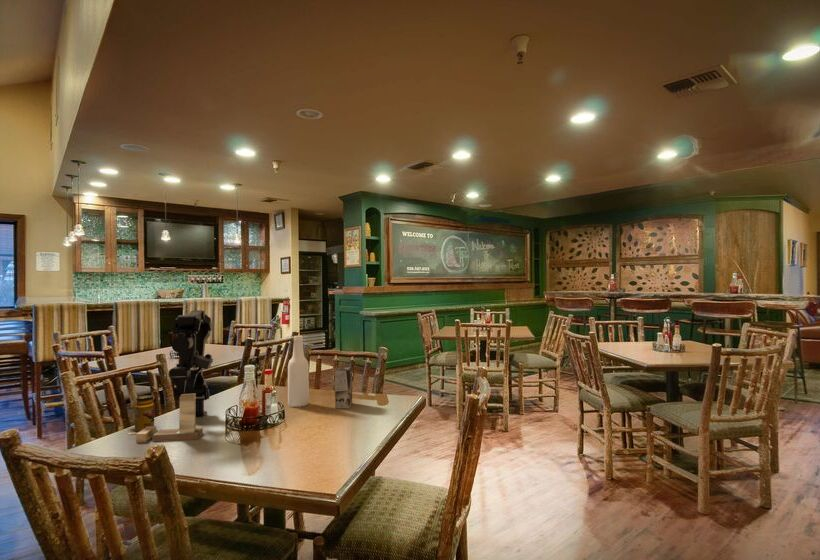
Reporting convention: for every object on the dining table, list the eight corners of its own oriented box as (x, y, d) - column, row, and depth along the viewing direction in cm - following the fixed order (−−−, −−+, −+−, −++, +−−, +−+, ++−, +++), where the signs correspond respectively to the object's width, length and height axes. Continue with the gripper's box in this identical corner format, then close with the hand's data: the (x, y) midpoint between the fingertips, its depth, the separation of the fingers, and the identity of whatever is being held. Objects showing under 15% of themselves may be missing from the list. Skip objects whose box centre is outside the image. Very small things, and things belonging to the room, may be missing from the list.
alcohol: (306, 401, 199) (306, 334, 199) (310, 406, 191) (310, 336, 191) (286, 403, 195) (286, 335, 196) (289, 408, 187) (289, 337, 188)
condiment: (155, 430, 158) (156, 397, 159) (127, 435, 154) (128, 400, 154) (154, 425, 164) (154, 393, 165) (127, 429, 160) (127, 396, 160)
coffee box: (349, 408, 187) (349, 370, 187) (334, 408, 187) (334, 370, 187) (352, 403, 196) (352, 366, 196) (338, 403, 196) (338, 366, 196)
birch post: (181, 429, 153) (181, 394, 153) (195, 427, 155) (195, 393, 155) (179, 433, 149) (179, 397, 149) (194, 431, 151) (194, 396, 151)
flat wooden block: (160, 435, 153) (160, 428, 153) (202, 433, 155) (202, 427, 155) (152, 441, 147) (152, 434, 147) (196, 439, 149) (196, 432, 149)
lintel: (146, 435, 154) (146, 426, 154) (156, 434, 155) (156, 426, 155) (136, 443, 146) (136, 434, 147) (145, 442, 147) (145, 433, 147)
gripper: (201, 352, 154) (201, 397, 154) (217, 345, 173) (217, 385, 173) (168, 353, 153) (167, 398, 153) (187, 346, 171) (187, 386, 171)
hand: (187, 391), depth 162 cm, fingers open, 9 cm apart
